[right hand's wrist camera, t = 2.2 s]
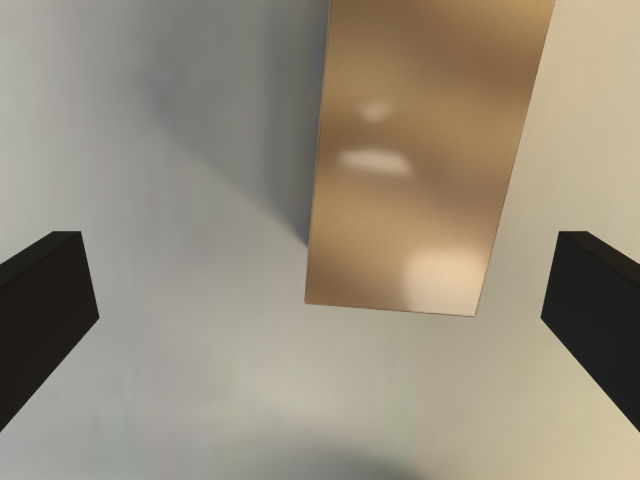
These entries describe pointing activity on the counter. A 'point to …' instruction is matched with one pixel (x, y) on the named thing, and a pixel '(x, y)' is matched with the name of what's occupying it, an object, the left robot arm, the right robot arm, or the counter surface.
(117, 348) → the counter surface
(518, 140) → the wide beam
